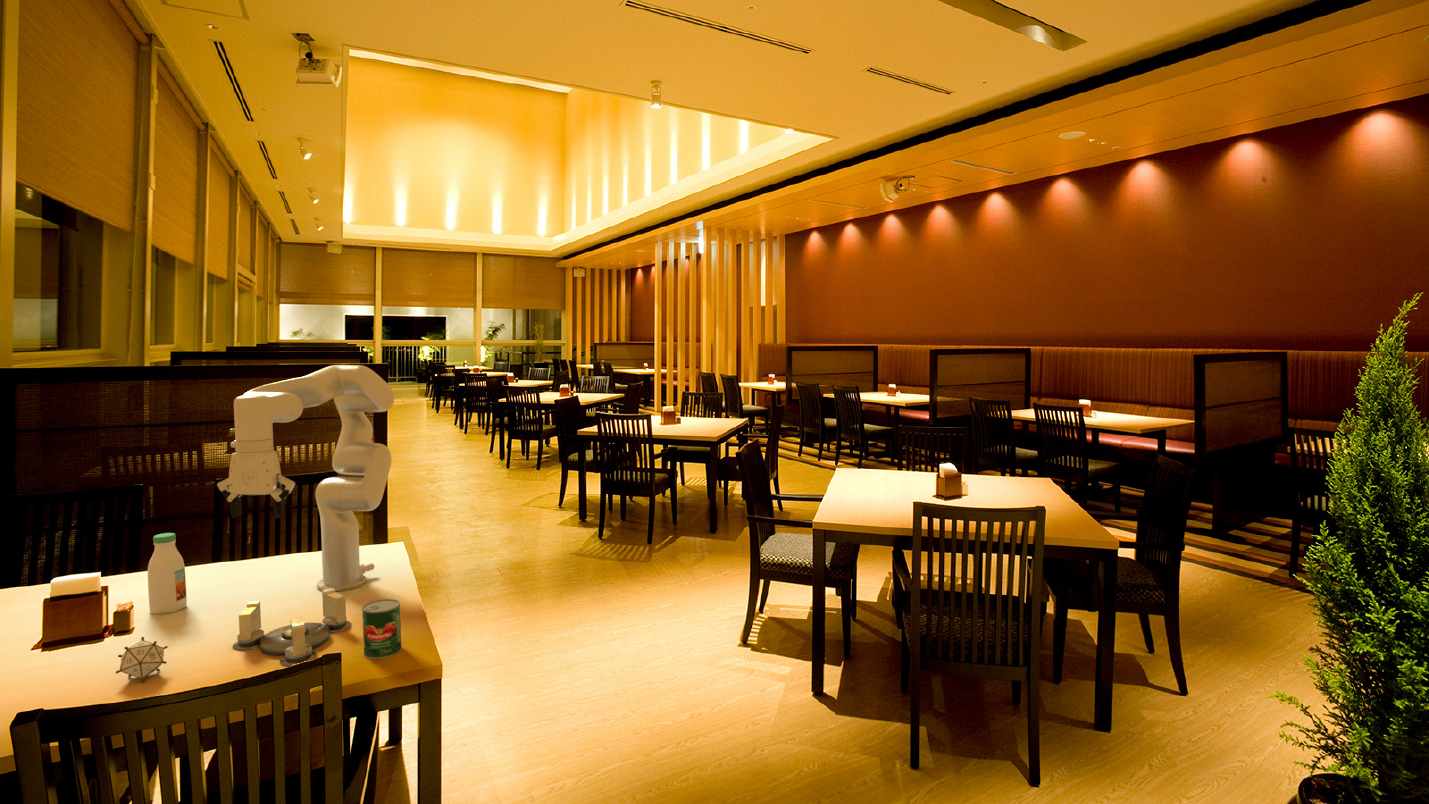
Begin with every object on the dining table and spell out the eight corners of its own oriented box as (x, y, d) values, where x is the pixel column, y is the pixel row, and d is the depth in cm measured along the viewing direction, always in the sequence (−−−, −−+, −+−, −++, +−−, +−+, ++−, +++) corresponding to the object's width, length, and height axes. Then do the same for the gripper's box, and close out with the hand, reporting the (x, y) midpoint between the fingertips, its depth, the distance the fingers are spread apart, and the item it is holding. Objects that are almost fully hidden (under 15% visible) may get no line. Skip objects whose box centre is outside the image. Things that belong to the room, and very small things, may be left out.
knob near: (317, 625, 173) (315, 592, 172) (338, 618, 177) (337, 586, 176) (331, 632, 168) (329, 598, 168) (352, 625, 173) (351, 592, 172)
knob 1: (243, 636, 165) (242, 602, 165) (268, 634, 167) (267, 600, 166) (232, 649, 159) (230, 613, 158) (258, 646, 160) (257, 611, 160)
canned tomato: (394, 641, 165) (392, 596, 164) (407, 652, 160) (405, 605, 159) (358, 651, 160) (357, 604, 159) (370, 662, 154) (369, 614, 153)
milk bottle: (166, 616, 178) (162, 539, 177) (141, 613, 180) (137, 537, 178) (194, 605, 186) (190, 531, 184) (170, 602, 187) (166, 530, 186)
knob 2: (313, 659, 154) (312, 622, 153) (286, 665, 151) (284, 628, 150) (310, 648, 160) (309, 612, 159) (284, 653, 157) (282, 617, 156)
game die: (140, 691, 148) (141, 645, 152) (178, 676, 148) (178, 631, 152) (103, 689, 140) (104, 641, 144) (143, 674, 140) (144, 626, 144)
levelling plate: (316, 613, 181) (315, 600, 181) (381, 631, 171) (381, 617, 170) (225, 646, 161) (224, 632, 161) (293, 669, 151) (292, 653, 150)
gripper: (206, 449, 162) (210, 521, 164) (284, 449, 164) (287, 520, 165) (226, 444, 170) (229, 513, 171) (300, 444, 171) (303, 512, 173)
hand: (257, 516), depth 168 cm, fingers open, 9 cm apart
